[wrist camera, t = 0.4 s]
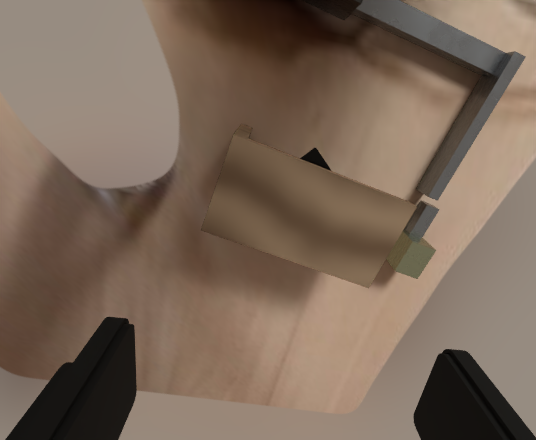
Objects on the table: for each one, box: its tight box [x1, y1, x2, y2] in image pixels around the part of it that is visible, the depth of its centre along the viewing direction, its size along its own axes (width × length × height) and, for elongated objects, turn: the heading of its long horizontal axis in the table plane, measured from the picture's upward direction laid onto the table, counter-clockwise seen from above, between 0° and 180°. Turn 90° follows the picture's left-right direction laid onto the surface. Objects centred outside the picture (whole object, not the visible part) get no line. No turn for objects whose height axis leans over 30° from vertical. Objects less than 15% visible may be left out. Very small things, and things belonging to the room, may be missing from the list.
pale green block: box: [386, 201, 439, 279], centre depth 37 cm, size 8×3×4 cm, turn 159°
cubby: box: [201, 124, 417, 288], centre depth 33 cm, size 9×17×10 cm, turn 69°
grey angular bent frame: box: [303, 0, 525, 201], centre depth 30 cm, size 23×16×6 cm
